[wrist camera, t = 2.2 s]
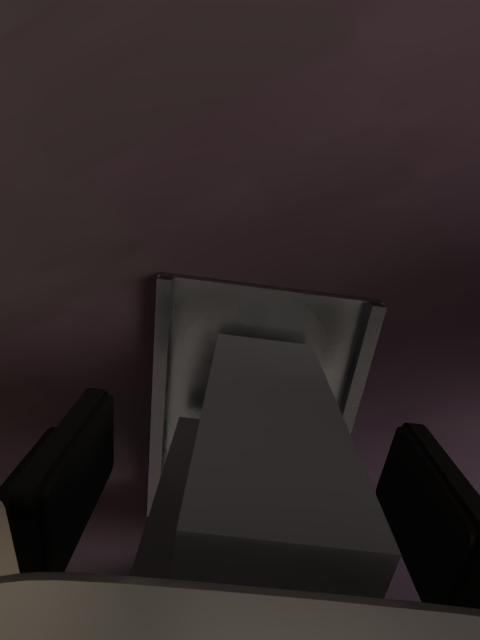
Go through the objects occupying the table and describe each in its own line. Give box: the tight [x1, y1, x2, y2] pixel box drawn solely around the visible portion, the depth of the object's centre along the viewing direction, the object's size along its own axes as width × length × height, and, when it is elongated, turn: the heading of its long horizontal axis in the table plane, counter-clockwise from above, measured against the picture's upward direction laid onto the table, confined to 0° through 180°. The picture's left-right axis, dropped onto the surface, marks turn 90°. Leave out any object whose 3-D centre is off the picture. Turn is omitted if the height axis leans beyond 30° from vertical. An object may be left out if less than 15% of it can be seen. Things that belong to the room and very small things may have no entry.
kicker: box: [130, 334, 401, 599], centre depth 12 cm, size 7×11×9 cm, turn 173°
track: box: [147, 273, 387, 517], centre depth 17 cm, size 10×13×1 cm
